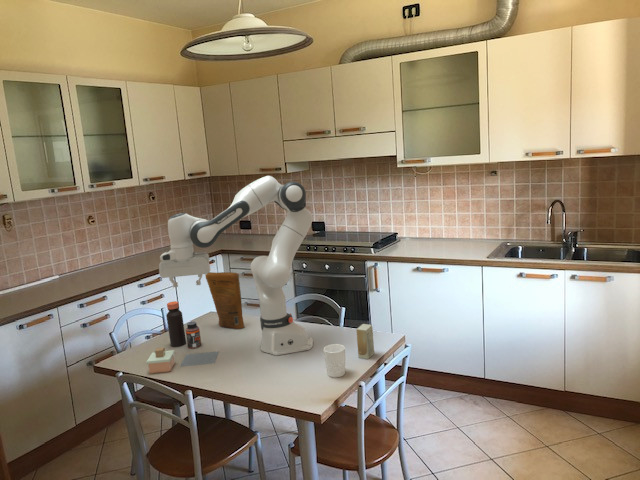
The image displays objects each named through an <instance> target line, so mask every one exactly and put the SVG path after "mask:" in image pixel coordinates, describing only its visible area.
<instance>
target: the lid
mask: <svg viewBox="0 0 640 480" xmlns="http://www.w3.org/2000/svg"><path fill="white" fill-rule="evenodd" d="M175 352H176V351H175V350H174V349H171V350H166V349H165V346H164V347H157V348H156V349H155V351H153V352H151V354H150V355H149V357H148V359H147V360H146V362H145V363H146V364H147V365H148V364H151V363H161V362H170V360H171V358H172V357H173V355H174V356H175V354H176V353H175Z"/></svg>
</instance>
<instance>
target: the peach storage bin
mask: <svg viewBox="0 0 640 480" xmlns="http://www.w3.org/2000/svg"><path fill="white" fill-rule="evenodd" d="M175 364H176V362H175V354H174V355H173V357H172V358H171V360H170V362H161V363H151V364H147V365H148V370H149V371H148V372H149V375H151V374H160V373H171V372H172V369H173V368H174V365H175Z"/></svg>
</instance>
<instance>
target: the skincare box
mask: <svg viewBox="0 0 640 480" xmlns="http://www.w3.org/2000/svg"><path fill="white" fill-rule="evenodd" d="M355 330H356V341H357V342H356V343H357V354H358V358H359V359H365V360H369V359H370V358H371V357H372V356H373V355H374V354H375V345H374V343H375V342H374V331H373V330H374V329H373V324H367V323H362V324H360V325H359V326H358V327H357V328H356V329H355Z"/></svg>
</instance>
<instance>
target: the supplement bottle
mask: <svg viewBox="0 0 640 480" xmlns="http://www.w3.org/2000/svg"><path fill="white" fill-rule="evenodd" d="M186 323H187V325H186V326H187V327H186V329H185V338H186V345H187V348H188V349H198V348H200V347H202V340H201V339H202V337H201V330H200V327H199V326H198V325H197V322H196V321H189V322H186Z"/></svg>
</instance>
